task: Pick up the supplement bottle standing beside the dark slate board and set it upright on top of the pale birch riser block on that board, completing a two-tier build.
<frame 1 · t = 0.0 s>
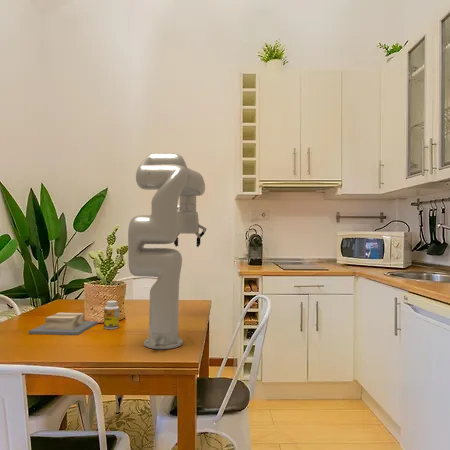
hand: (187, 246, 171), 31 cm above the table, tool pointing down, fingers open, 9 cm apart
blueprint board: (64, 328, 145), on the table
riser block: (65, 320, 145), on the blueprint board, point 3 cm above the table
supplement bottle: (111, 328, 147), on the table
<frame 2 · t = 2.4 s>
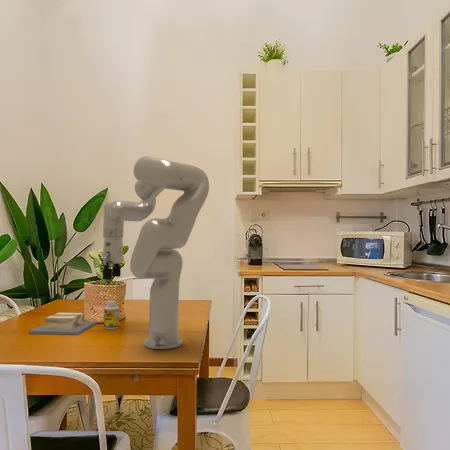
hand: (111, 277, 148), 19 cm above the table, tool pointing down, fingers open, 9 cm apart
nothing on the table moved.
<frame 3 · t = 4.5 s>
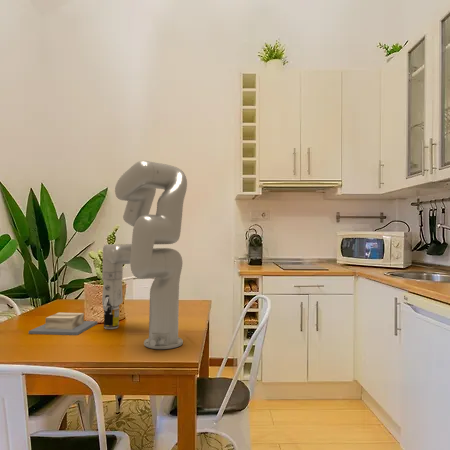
hand: (111, 322, 147), 2 cm above the table, tool pointing down, fingers closed on supplement bottle, 5 cm apart
supplement bottle: (111, 328, 147), on the table, touching gripper
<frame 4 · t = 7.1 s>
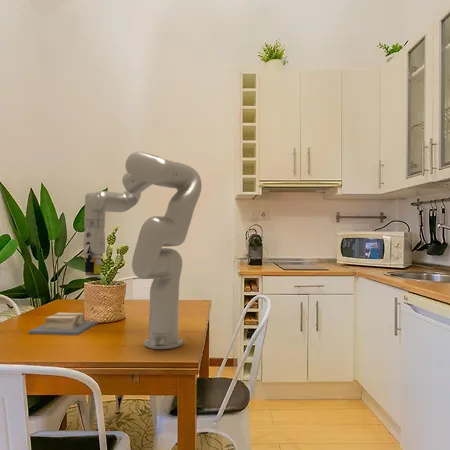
hand: (93, 271, 147), 22 cm above the table, tool pointing down, fingers closed on supplement bottle, 5 cm apart
supplement bottle: (93, 276, 147), point 20 cm above the table, touching gripper
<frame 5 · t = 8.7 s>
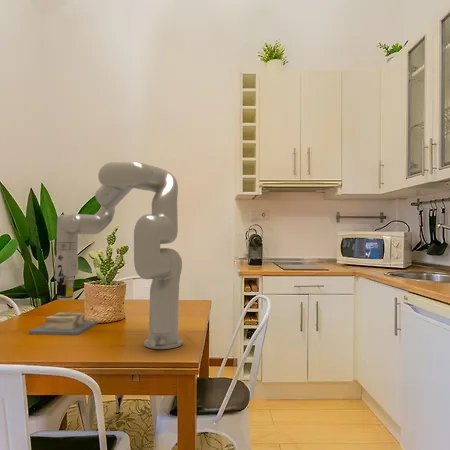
hand: (65, 293, 145), 13 cm above the table, tool pointing down, fingers closed on supplement bottle, 5 cm apart
supplement bottle: (65, 299, 145), point 11 cm above the table, touching gripper
when the fingers open (7 cm above the table, at t = 10.0 s): supplement bottle stays where it is, resting on riser block.
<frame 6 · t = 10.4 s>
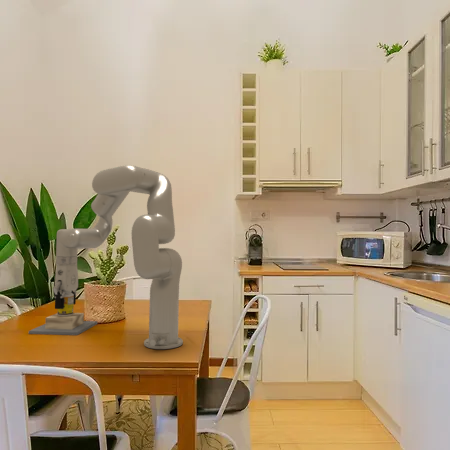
hand: (65, 306, 145), 8 cm above the table, tool pointing down, fingers open, 9 cm apart
supplement bottle: (65, 316, 145), point 5 cm above the table, touching riser block
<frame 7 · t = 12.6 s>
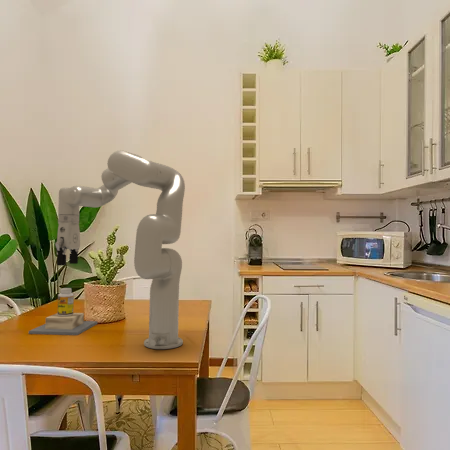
hand: (67, 264, 146), 24 cm above the table, tool pointing down, fingers open, 9 cm apart
nothing on the table moved.
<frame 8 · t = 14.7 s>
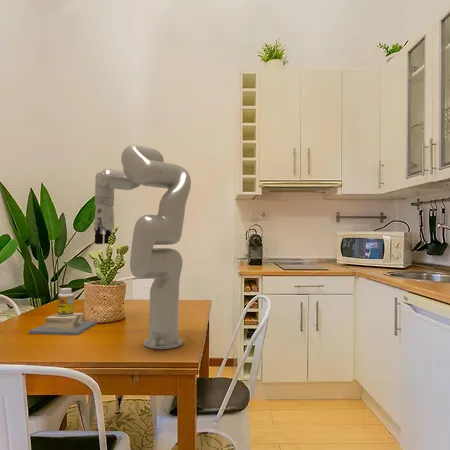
hand: (103, 243, 156), 32 cm above the table, tool pointing down, fingers open, 9 cm apart
nothing on the table moved.
at the end: supplement bottle 0.2 cm off-centre on the riser block, point 4.8 cm above the riser block's base; supplement bottle tilted 0°; the gripper is holding nothing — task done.
